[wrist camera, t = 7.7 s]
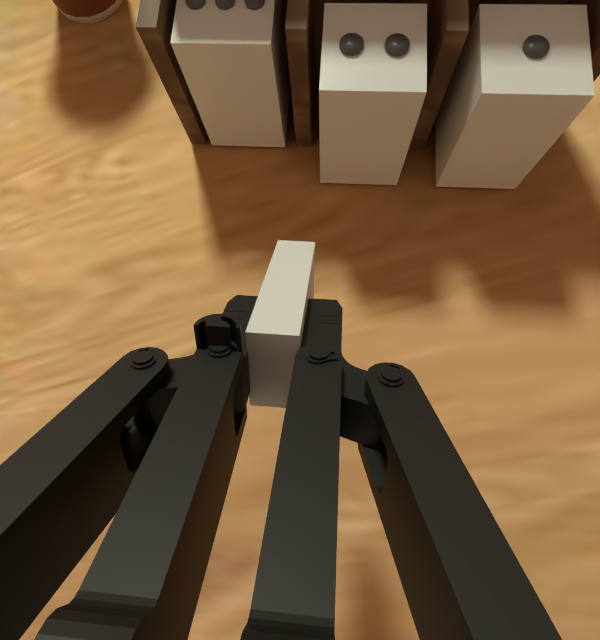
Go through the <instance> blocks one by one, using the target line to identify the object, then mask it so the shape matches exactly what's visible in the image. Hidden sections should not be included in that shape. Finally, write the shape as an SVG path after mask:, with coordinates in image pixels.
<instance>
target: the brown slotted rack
mask: <svg viewBox="0 0 600 640" xmlns="http://www.w3.org/2000/svg"><path fill="white" fill-rule="evenodd" d="M176 3H177V0H140V6H139V12H138V18H137V23H136V29H137V31H138V33H139V35H140V37H141V39H142V41H143V43H144V45H145V47H146V49H147V52H148V54H149V56H150V58H151V60H152V62H153V64H154V66H155V68H156V70H157V72H158V74H159V76H160V79H161V81H162V83H163V85H164V87H165V89H166V91H167V93H168V95H169V97H170V99H171V101H172V104H173V106H174V108H175V110H176V112H177V114H178V116H179V118H180V120H181V122H182V124H183V126H184V128H185V131H186V133H187V135H188V137H189V139H190V141H191V143H196V144H206V139H207V131H206V129H205V127H204V124H203V122H202V119H201V117H200V114H199V112H198V109H197V107H196V105H195V102H194V100H193V97H192V95H191V92H190V90H189V87H188V85H187V82H186V80H185V78H184V75H183V73H182V70H181V68H180V65H179V63H178V60H177V58H176V56H175V53H174V51H173V48H172V46H171V43H170V42H171V35H172V29H173V22H174V16H175V9H176ZM325 3H393V4H427V93H426V96H425V99H424V102H423V105H422V108H421V111H420V114H419V118H418V121H417V124H416V127H415V130H414V133H413V136H412V139H411V142H410V146H409V149H414V150H424V147H425V145H426V142H427V140H428V137H429V134H430V132H431V129H432V126H433V124H434V121H435V118H436V116H437V113H438V111H439V108H440V105H441V103H442V100H443V97H444V95H445V92H446V90H447V87H448V85H449V82H450V80H451V77H452V75H453V72H454V69H455V67H456V64H457V61H458V59H459V56H460V54H461V51H462V48H463V46H464V43H465V40H466V38H467V35H468V33H469V30H470V27H471V25H472V22H473V19H474V17H475V14H476V12H477V9H478V6H479V4H544V5H587V16H588V27H589V38H590V49H591V60H592V71H593V82H594V81H595V79H596V78H597V77H598V76H599V74H600V0H282V4H283V14H284V25H285V35H286V45H287V56H288V66H289V76H290V84H291V95H292V105H293V115H294V126H295V136H296V146H305V147H311V142H312V127H313V112H314V97H315V83H320V67H321V52H322V36H323V21H324V5H325Z"/></svg>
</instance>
